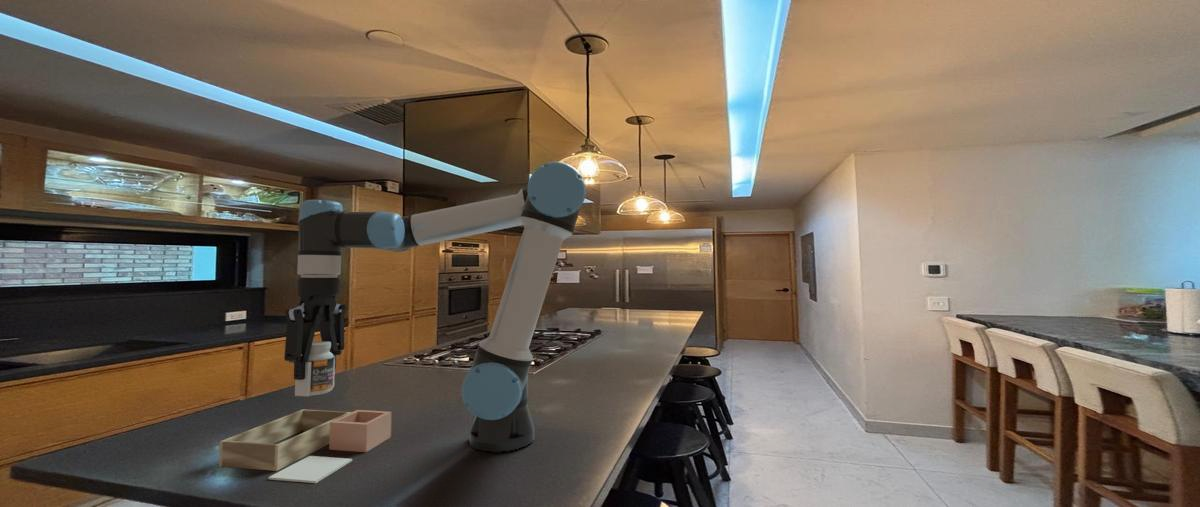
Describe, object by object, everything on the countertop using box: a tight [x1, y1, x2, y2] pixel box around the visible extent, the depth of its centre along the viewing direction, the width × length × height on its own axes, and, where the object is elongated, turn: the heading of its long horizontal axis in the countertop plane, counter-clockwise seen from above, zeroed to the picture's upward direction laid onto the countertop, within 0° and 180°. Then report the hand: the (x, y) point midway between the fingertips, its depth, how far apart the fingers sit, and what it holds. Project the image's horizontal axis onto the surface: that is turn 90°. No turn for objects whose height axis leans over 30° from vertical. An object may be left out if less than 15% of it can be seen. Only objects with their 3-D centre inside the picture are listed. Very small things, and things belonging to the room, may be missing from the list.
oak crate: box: [218, 408, 352, 472], centre depth 100 cm, size 21×13×5 cm, turn 172°
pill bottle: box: [307, 340, 334, 396], centre depth 90 cm, size 6×6×10 cm
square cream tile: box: [267, 455, 353, 484], centre depth 89 cm, size 10×10×1 cm
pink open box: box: [328, 409, 393, 453], centre depth 103 cm, size 9×9×6 cm
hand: (315, 391), depth 90 cm, fingers closed on pill bottle, 6 cm apart
